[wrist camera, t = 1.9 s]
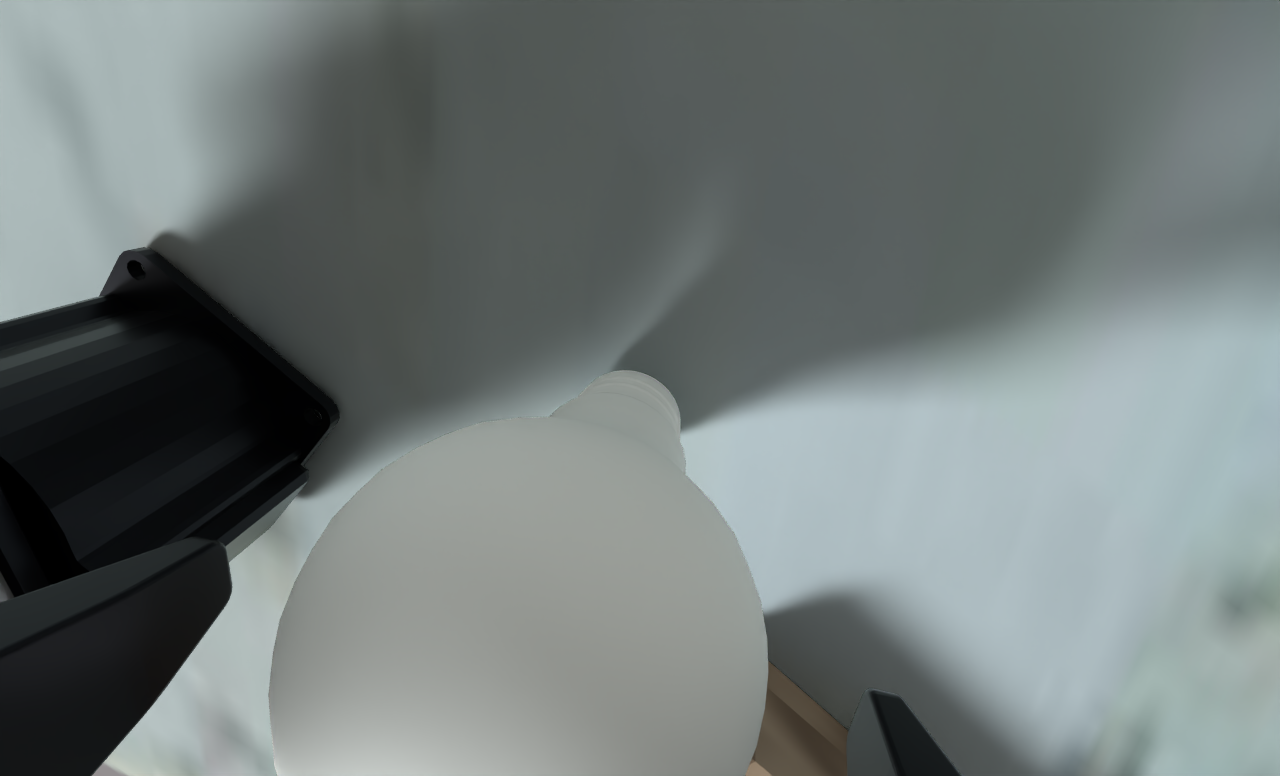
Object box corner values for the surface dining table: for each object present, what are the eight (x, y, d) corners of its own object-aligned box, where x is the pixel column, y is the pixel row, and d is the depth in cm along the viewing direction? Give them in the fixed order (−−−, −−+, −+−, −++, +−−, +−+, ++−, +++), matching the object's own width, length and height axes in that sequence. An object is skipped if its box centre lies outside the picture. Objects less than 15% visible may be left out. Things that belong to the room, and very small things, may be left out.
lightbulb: (468, 380, 16) (5, 796, 6) (651, 229, 14) (398, 489, 4) (620, 547, 17) (441, 1124, 7) (810, 432, 15) (928, 1028, 5)
